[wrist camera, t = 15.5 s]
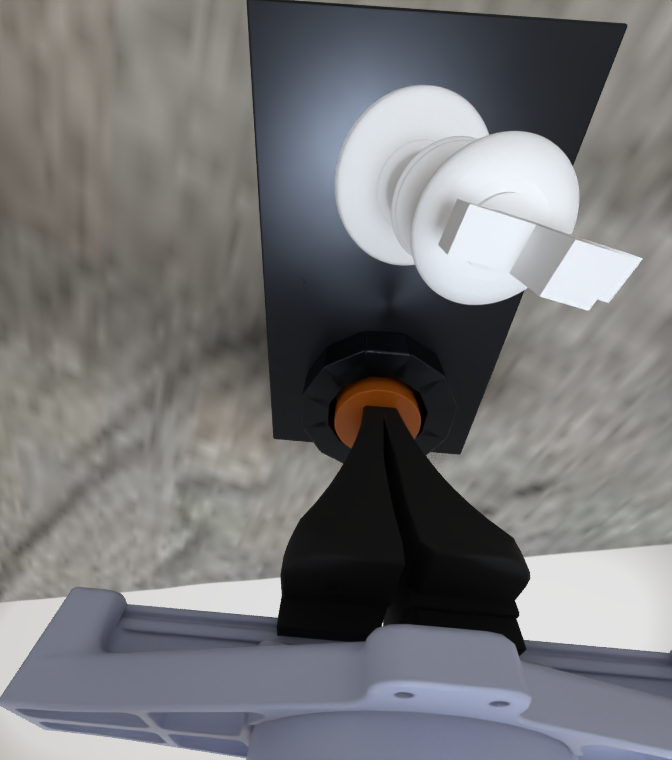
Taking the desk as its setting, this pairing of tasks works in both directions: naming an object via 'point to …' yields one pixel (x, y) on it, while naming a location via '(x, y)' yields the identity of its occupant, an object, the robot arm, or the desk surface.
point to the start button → (374, 394)
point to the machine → (320, 213)
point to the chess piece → (469, 204)
